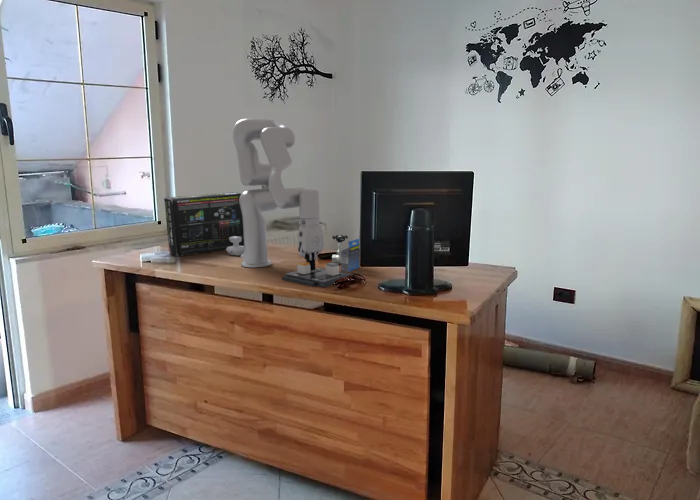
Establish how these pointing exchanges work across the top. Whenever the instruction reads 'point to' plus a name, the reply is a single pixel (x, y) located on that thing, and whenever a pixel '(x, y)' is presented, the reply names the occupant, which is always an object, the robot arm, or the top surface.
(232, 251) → the stamp
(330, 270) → the grey-capped toggle
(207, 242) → the router box
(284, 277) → the dark grey bar
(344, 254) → the label tape box
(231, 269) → the top surface
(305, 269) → the orange-capped toggle
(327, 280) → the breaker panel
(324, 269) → the back cord
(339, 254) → the valve
